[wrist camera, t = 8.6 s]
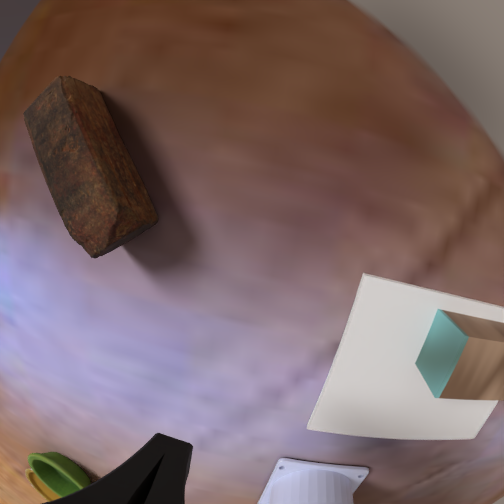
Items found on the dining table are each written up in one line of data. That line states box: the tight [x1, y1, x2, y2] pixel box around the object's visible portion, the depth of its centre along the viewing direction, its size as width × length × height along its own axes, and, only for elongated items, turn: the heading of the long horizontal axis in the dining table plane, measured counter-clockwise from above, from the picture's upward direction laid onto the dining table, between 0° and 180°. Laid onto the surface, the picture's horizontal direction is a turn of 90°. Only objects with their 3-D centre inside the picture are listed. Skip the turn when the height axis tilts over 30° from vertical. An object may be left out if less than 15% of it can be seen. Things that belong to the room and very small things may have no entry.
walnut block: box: [415, 309, 504, 400], centre depth 15 cm, size 4×4×8 cm
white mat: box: [307, 273, 504, 440], centre depth 18 cm, size 12×16×1 cm
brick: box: [24, 76, 158, 258], centre depth 17 cm, size 11×4×5 cm, turn 28°
